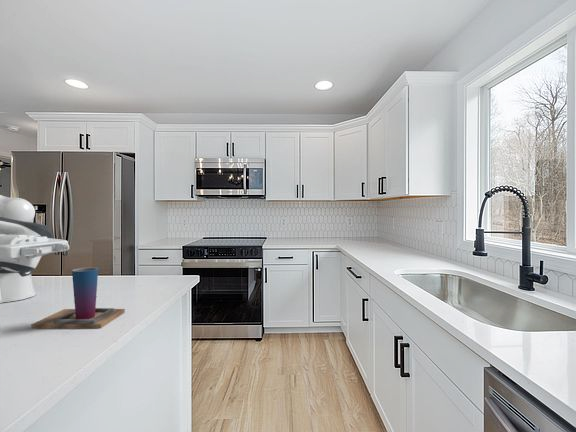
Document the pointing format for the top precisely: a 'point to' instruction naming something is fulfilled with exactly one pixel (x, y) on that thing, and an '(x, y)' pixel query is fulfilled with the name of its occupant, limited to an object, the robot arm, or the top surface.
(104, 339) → the top surface
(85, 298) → the cup
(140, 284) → the top surface
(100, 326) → the board
